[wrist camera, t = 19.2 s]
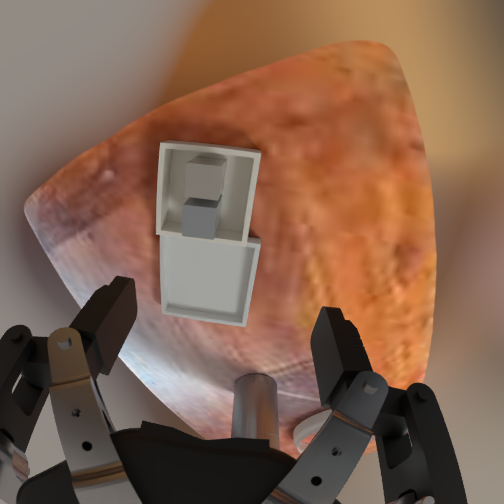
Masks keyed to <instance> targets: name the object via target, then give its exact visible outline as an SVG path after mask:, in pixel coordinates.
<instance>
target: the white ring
mask: <svg viewBox="0 0 504 504" xmlns="http://www.w3.org/2000/svg"><path fill="white" fill-rule="evenodd" d="M331 413H332V410H331V409H329V410H326V411H323V412H320V413H318V414H315V415H313V416H311V417H309V418H307V419H305V420H304V421H302V422H301V423H300V424H298V425H297V426H296V428H295V429H294V432H293V439H294V445H295V446H296V447H297V449H298V451H299V452H300V453H302V452H303V451H304V450H305V448H306V447H307V446H308V444H305V443H302V442H301V441H302V440H303V439H305V438H306V437H308V436H310V435H312V434H314V433H316V432H318V431H319V430H320V428H321V427H322V425H323V424H324V423H325V421H326V420H327V418H328V417H329V415H330V414H331ZM374 440H375V436H374V435H372V437H371V439H370V441H369V443H371V442H372V441H374ZM369 443H368V444H369Z"/></svg>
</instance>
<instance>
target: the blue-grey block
mask: <svg viewBox="0 0 504 504" xmlns="http://www.w3.org/2000/svg"><path fill="white" fill-rule="evenodd" d="M222 196H223V195H220V197H219V199H218V201H217V200H209V199H201V198H192V197H189V198H188V199H187V201H186V202H185V203H184V204H183V215H182V236H186V237H194V238H202V239H211V240H214V238H215V235H216V232H217V230H218V227H219V224H220V217H221V207H222Z"/></svg>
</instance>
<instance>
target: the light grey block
mask: <svg viewBox="0 0 504 504" xmlns="http://www.w3.org/2000/svg"><path fill="white" fill-rule="evenodd" d="M226 166H227V159H222V158H213V157H203V156H197V157H195V158H193V159H192V160H190V161H188V162H187V163H186V174H185V187H184V197H192V198H201V199H209V200H217V201H218V199H219V197H220V195H221V193H222V191H223V189H224V182H225V174H226Z"/></svg>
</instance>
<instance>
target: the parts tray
mask: <svg viewBox="0 0 504 504" xmlns="http://www.w3.org/2000/svg"><path fill="white" fill-rule="evenodd" d="M260 246H261V238H255V237H248V239H247V245H246V247H241V246H234V245H227V244H220V243H213V242H206V241H199V240H192V239H185V238H178V237H171V236H164V235H160V285H161V308H162V314H166V315H171V316H177V317H182V318H188V319H194V320H200V321H207V322H213V323H220V324H227V325H234V326H242V327H246V322H247V317H248V312H249V306H250V301H251V296H252V290H253V285H254V279H255V274H256V268H257V263H258V257H259V252H260Z"/></svg>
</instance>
